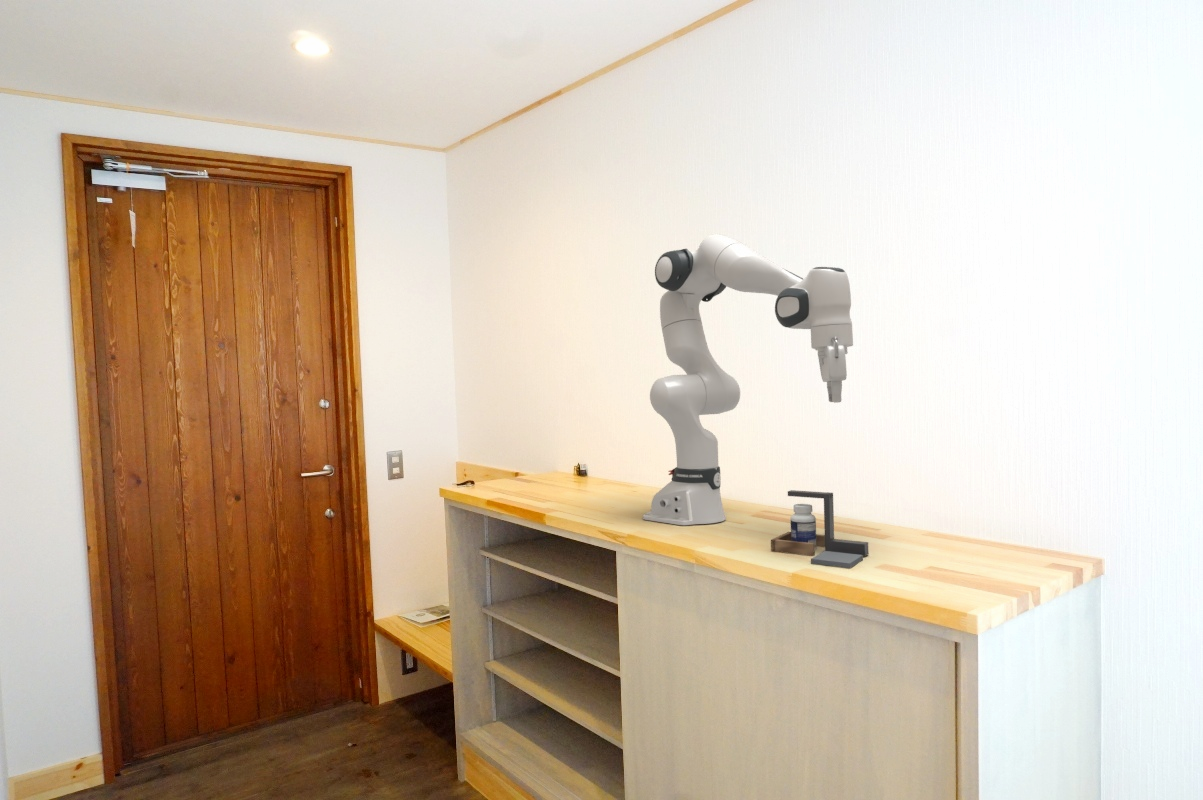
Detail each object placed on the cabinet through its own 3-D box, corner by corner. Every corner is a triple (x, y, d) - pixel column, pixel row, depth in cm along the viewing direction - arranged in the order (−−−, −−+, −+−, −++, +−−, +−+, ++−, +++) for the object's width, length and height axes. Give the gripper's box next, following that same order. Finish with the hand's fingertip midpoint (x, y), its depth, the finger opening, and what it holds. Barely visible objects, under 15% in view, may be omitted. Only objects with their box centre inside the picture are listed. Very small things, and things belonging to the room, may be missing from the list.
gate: (788, 548, 172) (787, 491, 172) (792, 545, 174) (791, 490, 174) (864, 556, 162) (863, 496, 162) (868, 554, 164) (867, 494, 164)
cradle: (771, 551, 171) (770, 539, 171) (788, 542, 179) (788, 531, 179) (813, 556, 165) (812, 544, 165) (829, 546, 173) (829, 535, 173)
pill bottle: (790, 546, 175) (789, 503, 174) (815, 546, 174) (814, 503, 173) (792, 552, 169) (791, 507, 169) (817, 552, 168) (816, 507, 168)
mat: (810, 563, 159) (810, 558, 159) (824, 555, 165) (824, 550, 165) (850, 568, 154) (850, 563, 154) (863, 559, 160) (862, 555, 160)
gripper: (851, 335, 161) (855, 402, 161) (842, 341, 181) (845, 401, 181) (820, 337, 162) (823, 403, 162) (814, 343, 182) (817, 402, 182)
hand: (834, 402), depth 172 cm, fingers open, 8 cm apart
